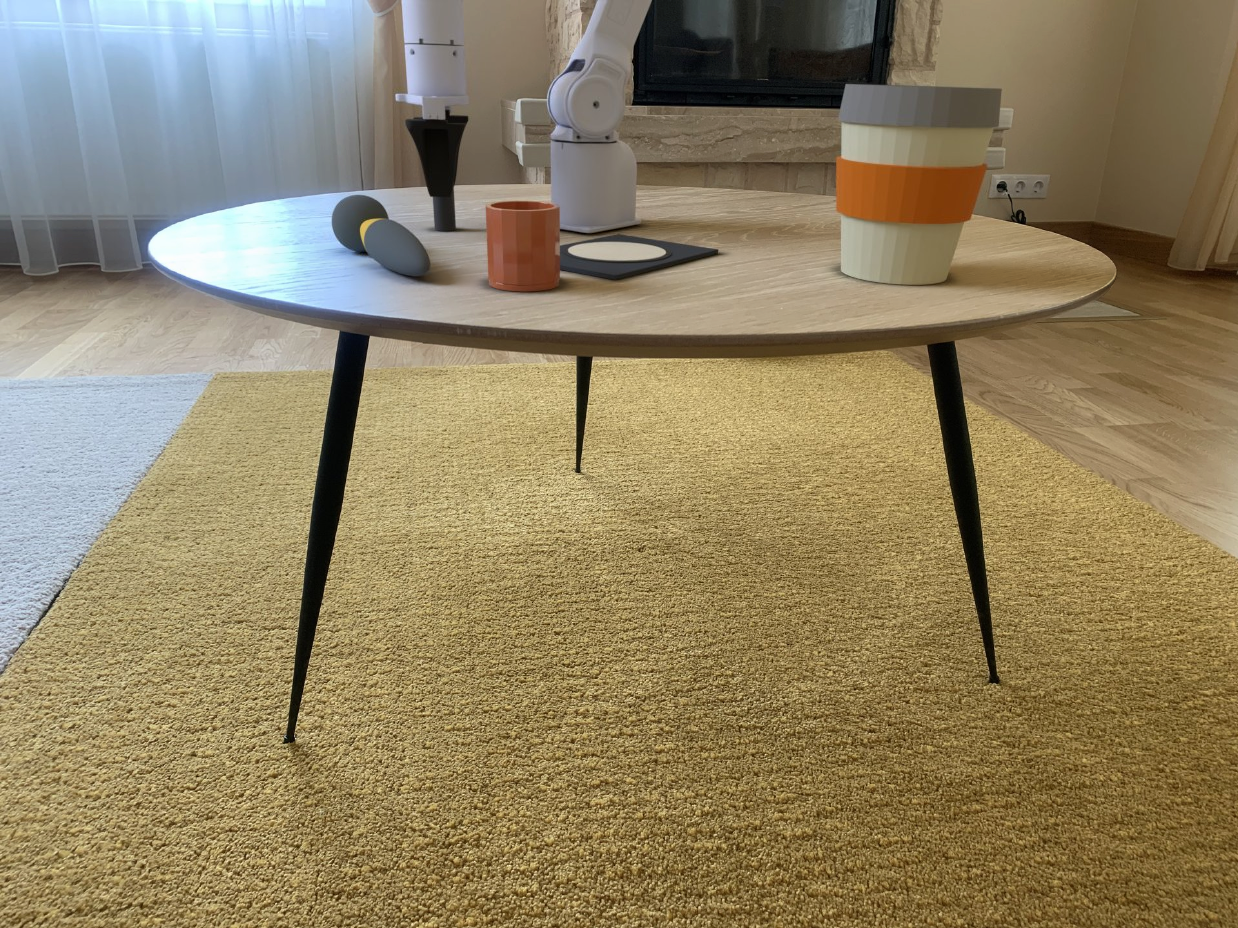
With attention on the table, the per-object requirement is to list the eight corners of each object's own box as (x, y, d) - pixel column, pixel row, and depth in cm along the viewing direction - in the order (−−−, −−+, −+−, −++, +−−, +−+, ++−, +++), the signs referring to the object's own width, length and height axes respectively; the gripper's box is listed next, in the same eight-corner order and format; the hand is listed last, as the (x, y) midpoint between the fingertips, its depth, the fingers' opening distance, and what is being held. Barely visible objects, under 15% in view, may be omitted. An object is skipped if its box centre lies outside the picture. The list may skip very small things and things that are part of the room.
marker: (446, 227, 93) (441, 137, 89) (461, 229, 91) (456, 138, 88) (429, 229, 91) (423, 138, 87) (444, 232, 90) (439, 139, 86)
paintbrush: (468, 278, 70) (465, 214, 68) (411, 286, 67) (406, 219, 65) (368, 241, 84) (363, 187, 82) (317, 246, 81) (311, 191, 79)
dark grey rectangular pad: (618, 238, 89) (618, 232, 89) (718, 253, 82) (718, 247, 82) (508, 260, 77) (508, 253, 77) (615, 280, 71) (615, 273, 70)
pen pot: (522, 273, 72) (521, 198, 70) (574, 283, 69) (574, 205, 67) (473, 284, 68) (470, 205, 66) (525, 295, 65) (524, 213, 63)
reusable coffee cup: (994, 290, 70) (1035, 90, 64) (842, 288, 70) (869, 85, 64) (935, 260, 82) (965, 87, 76) (804, 258, 81) (824, 83, 75)
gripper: (399, 46, 90) (409, 183, 96) (383, 42, 77) (395, 200, 82) (468, 48, 91) (473, 184, 96) (464, 45, 78) (470, 201, 83)
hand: (442, 192), depth 90 cm, fingers open, 7 cm apart
